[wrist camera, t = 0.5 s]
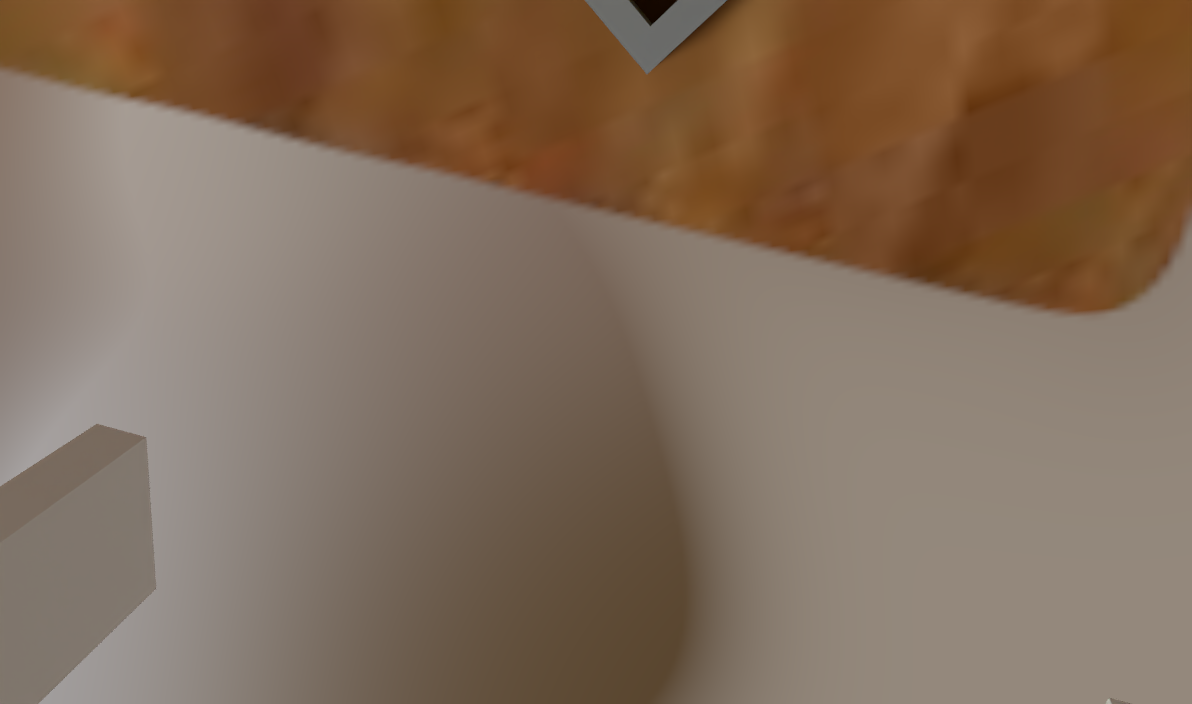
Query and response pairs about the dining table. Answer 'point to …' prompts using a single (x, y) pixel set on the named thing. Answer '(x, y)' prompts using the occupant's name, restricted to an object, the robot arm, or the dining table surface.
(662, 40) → the frame
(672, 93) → the dining table surface
